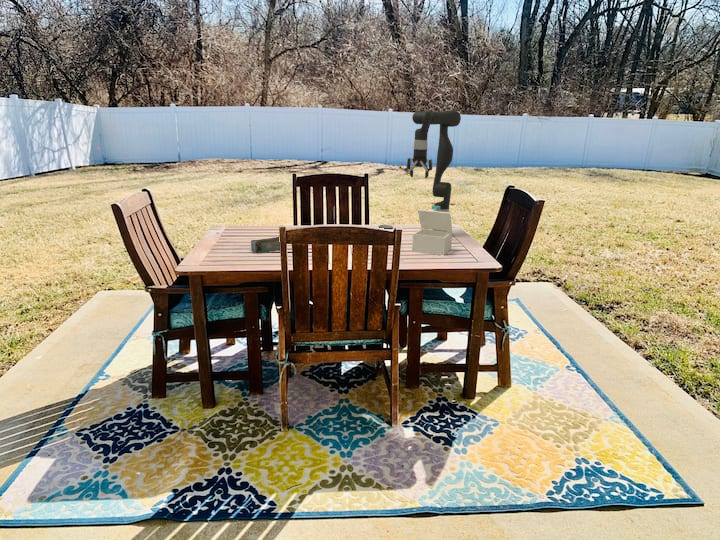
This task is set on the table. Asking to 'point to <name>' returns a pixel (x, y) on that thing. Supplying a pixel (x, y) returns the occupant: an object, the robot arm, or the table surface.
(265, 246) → the beverage carton
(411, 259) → the table surface
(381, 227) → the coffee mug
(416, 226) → the table surface
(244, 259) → the table surface
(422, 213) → the lid
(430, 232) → the box
